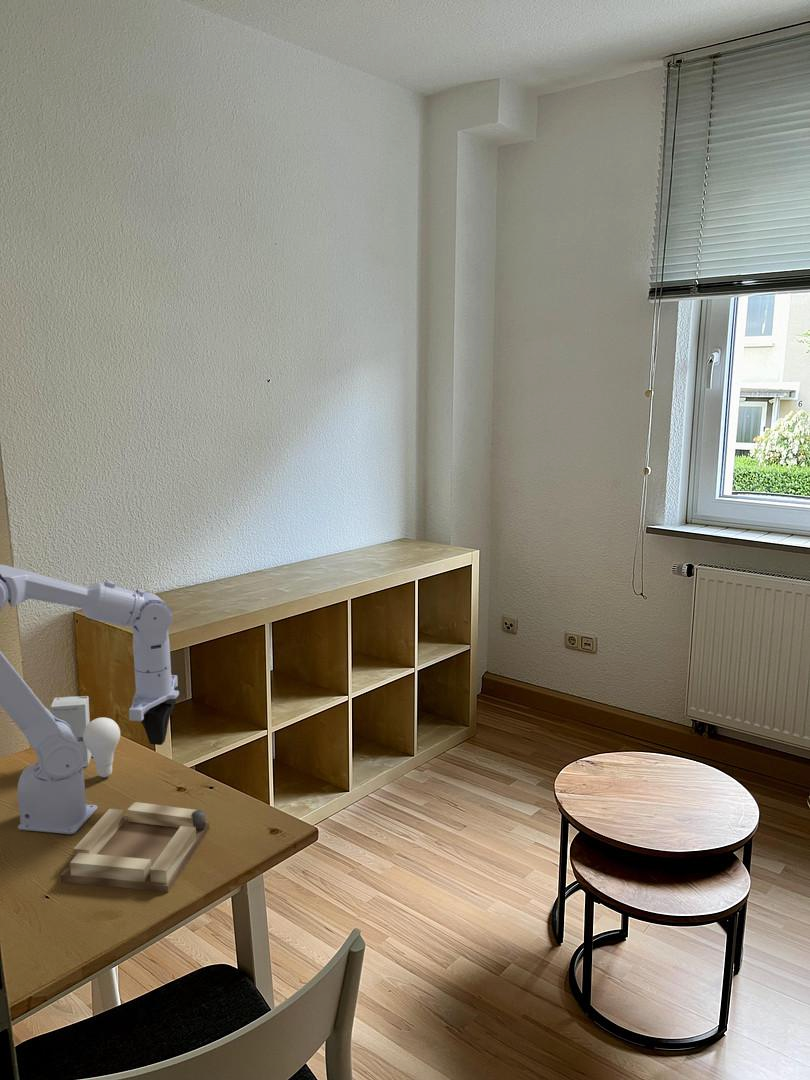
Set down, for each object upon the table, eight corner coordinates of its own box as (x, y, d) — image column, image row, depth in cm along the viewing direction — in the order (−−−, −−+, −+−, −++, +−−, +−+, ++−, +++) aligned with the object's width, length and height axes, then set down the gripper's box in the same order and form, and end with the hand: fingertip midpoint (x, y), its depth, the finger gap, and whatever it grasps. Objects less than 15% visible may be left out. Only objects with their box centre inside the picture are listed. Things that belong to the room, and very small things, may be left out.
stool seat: (60, 881, 120) (58, 862, 119) (113, 820, 136) (112, 803, 135) (168, 892, 118) (166, 873, 117) (209, 828, 134) (208, 811, 133)
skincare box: (53, 770, 151) (47, 707, 149) (58, 758, 156) (52, 697, 153) (89, 767, 153) (84, 704, 150) (93, 755, 157) (88, 694, 154)
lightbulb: (111, 787, 146) (107, 728, 143) (79, 783, 147) (74, 724, 144) (129, 770, 152) (125, 713, 149) (98, 766, 153) (94, 710, 150)
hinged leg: (208, 822, 133) (207, 810, 132) (201, 831, 131) (201, 818, 130) (135, 813, 135) (135, 800, 135) (128, 821, 133) (127, 808, 133)
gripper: (157, 685, 131) (162, 765, 134) (192, 652, 145) (196, 725, 148) (114, 682, 132) (120, 761, 135) (153, 649, 146) (158, 722, 149)
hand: (157, 742), depth 142 cm, fingers closed
